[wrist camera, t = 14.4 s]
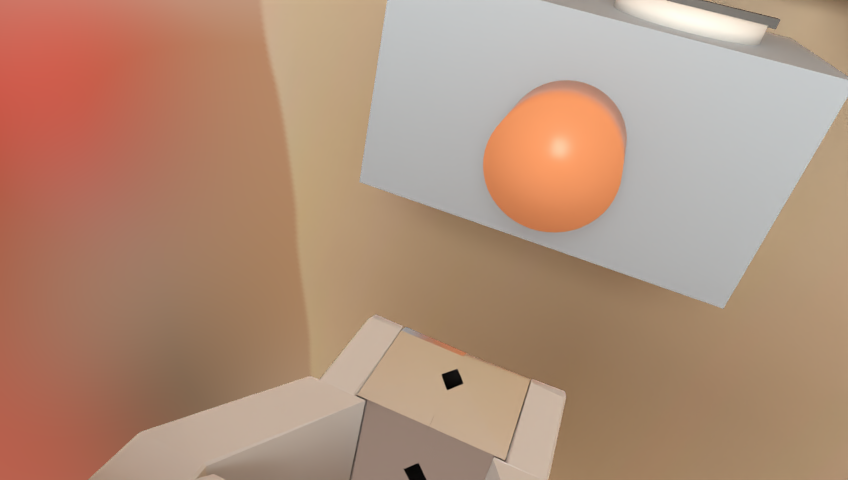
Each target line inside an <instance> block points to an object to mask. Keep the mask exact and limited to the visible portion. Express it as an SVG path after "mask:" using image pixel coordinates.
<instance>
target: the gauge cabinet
mask: <svg viewBox="0 0 848 480" xmlns="http://www.w3.org/2000/svg"><path fill="white" fill-rule="evenodd" d="M779 22H780V19H778V18H774V17H770V16H766V15H761V14H757V13H753V12H749V11H745V10H741V9H737V8H733V7H729V6H725V5H721V4H717V3H712V2H708V1H704V0H387V6H386V12H385V19H384V25H383V32H382V38H381V45H380V51H379V58H378V64H377V71H376V77H375V84H374V90H373V97H372V103H371V110H370V117H369V123H368V130H367V136H366V143H365V149H364V156H363V162H362V169H361V175H360V182H361V183H364V184H367V185H369V186H372V187H375V188H378V189H381V190H384V191H387V192H390V193H392V194H395V195H398V196H401V197H404V198H407V199H410V200H412V201H415V202H418V203H421V204H424V205H427V206H430V207H433V208H435V209H438V210H441V211H444V212H447V213H450V214H453V215H456V216H458V217H461V218H464V219H467V220H470V221H473V222H476V223H479V224H481V225H484V226H487V227H490V228H493V229H496V230H499V231H502V232H504V233H507V234H510V235H513V236H516V237H519V238H522V239H525V240H527V241H530V242H533V243H536V244H539V245H542V246H545V247H547V248H550V249H553V250H556V251H559V252H562V253H565V254H568V255H570V256H573V257H576V258H579V259H582V260H585V261H588V262H591V263H593V264H596V265H599V266H602V267H605V268H608V269H611V270H614V271H616V272H619V273H622V274H625V275H628V276H631V277H634V278H637V279H639V280H642V281H645V282H648V283H651V284H654V285H657V286H660V287H662V288H665V289H668V290H671V291H674V292H677V293H680V294H682V295H685V296H688V297H691V298H694V299H697V300H700V301H703V302H705V303H708V304H711V305H714V306H717V307H720V308H724V307H725V305H726V303H727V302H728V300H729V298H730V296H731V295H732V293H733V291H734V290H735V288H736V286H737V285H738V283H739V281H740V279H741V278H742V276H743V274H744V273H745V271H746V269H747V267H748V266H749V264H750V262H751V261H752V259H753V257H754V256H755V254H756V252H757V250H758V249H759V247H760V245H761V244H762V242H763V240H764V239H765V237H766V235H767V233H768V232H769V230H770V228H771V227H772V225H773V223H774V222H775V220H776V218H777V216H778V215H779V213H780V211H781V210H782V208H783V206H784V204H785V203H786V201H787V199H788V198H789V196H790V194H791V193H792V191H793V189H794V187H795V186H796V184H797V182H798V181H799V179H800V177H801V176H802V174H803V172H804V170H805V169H806V167H807V165H808V164H809V162H810V160H811V159H812V157H813V155H814V153H815V152H816V150H817V148H818V147H819V145H820V143H821V141H822V140H823V138H824V136H825V135H826V133H827V131H828V130H829V128H830V126H831V124H832V123H833V121H834V119H835V118H836V116H837V114H838V113H839V111H840V109H841V107H842V106H843V104H844V102H845V101H846V99H847V97H848V76H846V75H845V74H843V73H842V72H841V71H839V70H838V69H836V68H835V67H833V66H832V65H830V64H829V63H827V62H826V61H824V60H823V59H821V58H820V57H818V56H817V55H815V54H814V53H812V52H811V51H809V50H808V49H806V48H805V47H803V46H802V45H800V44H799V43H797V42H796V41H794V40H793V39H791V38H788V37H784V36H780V35H776V34H772V33H768V32H766V30H767V28H772V29H776V28H777V26H778V24H779ZM560 80H572V81H579V82H583V83H586V84H589V85H592V86H594V87H596V88H597V89H599V90H601V91H602V92H603V93H605V94H606V95H607V96H608V97H609V98H610V99H611V100H612V101H613V102H614V103H615V104H616V106H617V107H618V109H619V111H620V112H621V114H622V117H623V119H624V122H625V126H626V133H627V144H626V151H625V158H624V165H623V172H622V178H621V184H620V187H619V190H618V192H617V194H616V196H615V198H614V200H613V202H612V203H611V205H610V206H609V207H608V209H607V210H606V211H605V212H604V213H603V214H602V215H601V216H599V217H598V218H597V219H596V220H594V221H593V222H591V223H589V224H587V225H585V226H583V227H581V228H578V229H575V230H571V231H566V232H557V233H554V232H542V231H537V230H534V229H530V228H528V227H525V226H523V225H521V224H519V223H517V222H515V221H514V220H512V219H511V218H510V217H508V216H507V215H506V214H505V213H504V212H503V211H502V210H501V209H500V208H499V207H498V206H497V205H496V203H495V202H494V200H493V199H492V197H491V195H490V193H489V191H488V189H487V186H486V183H485V178H484V172H483V158H484V153H485V148H486V145H487V143H488V140H489V138H490V136H491V134H492V133H493V131H494V130H495V128H496V127H497V126H498V125H499V124H500V122H501V121H502V120H503V119H504V118H505V117H506V116H507V114H508V113H509V112H510V111H511V110H512V109H513V108H514V106H515V105H516V104H517V103H518V102H519V101H520V100H521V99H522V98H523V97H524V96H525V95H526V94H527V93H528V92H530V91H532V90H533V89H535V88H537V87H539V86H541V85H543V84H546V83H549V82H554V81H560Z"/></svg>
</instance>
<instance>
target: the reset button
mask: <svg viewBox="0 0 848 480" xmlns="http://www.w3.org/2000/svg"><path fill="white" fill-rule="evenodd" d="M626 144H627V133H626V126H625V122H624V119H623V117H622V114H621V112H620V111H619V109H618V107H617V106H616V104H615V103H614V102H613V101H612V100H611V99H610V98H609V97H608V96H607V95H606V94H605V93H603V92H602V91H601V90H599V89H597V88H596V87H594V86H592V85H589V84H586V83H583V82H579V81H572V80H560V81H554V82H549V83H546V84H543V85H541V86H539V87H537V88H535V89H533V90H532V91H530V92H528V93H527V94H526V95H525V96H524V97H523V98H522V99H521V100H520V101H519V102H518V103H517V104H516V105H515V106H514V108H513V109H512V110H511V111H510V112H509V113H508V114H507V116H506V117H505V118H504V119H503V120H502V121H501V122H500V124H499V125H498V126H497V127H496V128H495V130H494V131H493V133H492V134H491V136H490V138H489V140H488V143H487V145H486V148H485V153H484V158H483V172H484V178H485V183H486V186H487V189H488V191H489V193H490V195H491V197H492V199H493V200H494V202H495V203H496V205H497V206H498V207H499V208H500V209H501V210H502V211H503V212H504V213H505V214H506V215H507V216H508V217H510V218H511V219H512V220H514V221H515V222H517V223H519V224H521V225H523V226H525V227H528V228H530V229H534V230H537V231H542V232H554V233H557V232H566V231H571V230H575V229H578V228H581V227H583V226H585V225H587V224H589V223H591V222H593V221H594V220H596V219H597V218H598V217H599V216H601V215H602V214H603V213H604V212H605V211H606V210H607V209H608V207H609V206H610V205H611V203H612V202H613V200H614V198H615V196H616V194H617V192H618V190H619V187H620V184H621V178H622V172H623V165H624V158H625V151H626Z"/></svg>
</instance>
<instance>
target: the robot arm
mask: <svg viewBox="0 0 848 480" xmlns="http://www.w3.org/2000/svg"><path fill="white" fill-rule="evenodd" d="M565 401H566V394H565V391H563V390H561V389H558V388H555V387H553V386H550V385H547V384H545V383H542V382H540V381H537V380H534V379H531V380H530V378H527V377H525V376H522V375H520V374H517V373H515V372H512V371H510V370H507V369H505V368H502V367H500V366H497V365H495V364H492V363H490V362H487V361H485V360H482V359H480V358H477V357H475V356H472V355H470V354H467V353H465V352H463V351H461V350H458V349H456V348H454V347H451V346H449V345H447V344H444V343H442V342H440V341H437V340H435V339H433V338H431V337H428V336H426V335H424V334H421V333H419V332H417V331H414V330H412V329H410V328H408V327H403V326H402V325H399V324H397V323H395V322H392V321H390V320H388V319H385V318H383V317H381V316H378V315H376V314H375V315H374V316H372V317H370V318H368V319H367V321H366V322H365V323H364V324H363V326H362V327H361V328H360V329H359V331H358V332H357V333H356V334H355V335H354V337H353V338H352V339H351V340H350V342H349V343H348V344H347V345H346V347H345V348H344V349H343V350H342V352H341V353H340V354H339V355H338V357H337V358H336V359H335V360H334V362H333V363H332V364H331V365H330V367H329V368H328V369H327V370H326V372H325V373H324V374H323V375H322V377H321V378H320V379H316V378H314V377H311V376H308V377H305V378H302V379H299V380H296V381H293V382H290V383H287V384H284V385H281V386H278V387H275V388H272V389H269V390H266V391H263V392H259V393H256V394H254V395H250V396H247V397H244V398H241V399H239V400H235V401H233V402H230V403H226V404H223V405H220V406H217V407H214V408H211V409H208V410H205V411H202V412H199V413H196V414H194V415H190V416H187V417H184V418H181V419H178V420H175V421H172V422H169V423H166V424H163V425H160V426H157V427H154V428H151V429H148V430H145V431H142V432H140V433H138V435H136V436H135V437H134V438H133V439H132V440H131V441H130V442H129V443H127V444H126V445H125V446H124V447H123V448H122V449H121V450H120V451H119V452H118V453H117V454H116V455H114V456H113V457H112V458H111V459H110V460H109V461H108V462H107V463H106V464H105V465H104V466H102V467H101V468H100V469H99V470H98V471H97V472H96V473H95V474H94V475H93V476H92V477H90V478H89V479H88V480H549V475H550V471H551V466H552V461H553V457H554V452H555V447H556V443H557V438H558V433H559V429H560V424H561V419H562V415H563V410H564V405H565Z"/></svg>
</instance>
